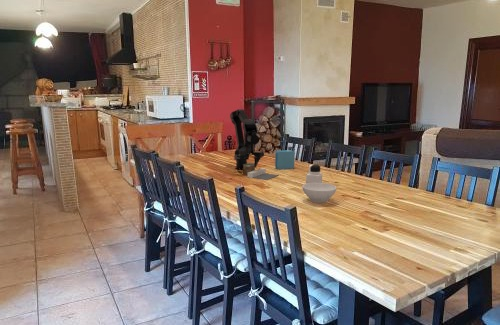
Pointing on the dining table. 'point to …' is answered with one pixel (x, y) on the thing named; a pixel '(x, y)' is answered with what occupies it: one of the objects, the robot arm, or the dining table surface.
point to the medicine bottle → (314, 174)
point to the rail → (256, 172)
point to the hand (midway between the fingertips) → (249, 166)
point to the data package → (284, 159)
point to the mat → (265, 176)
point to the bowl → (319, 191)
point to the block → (248, 168)
